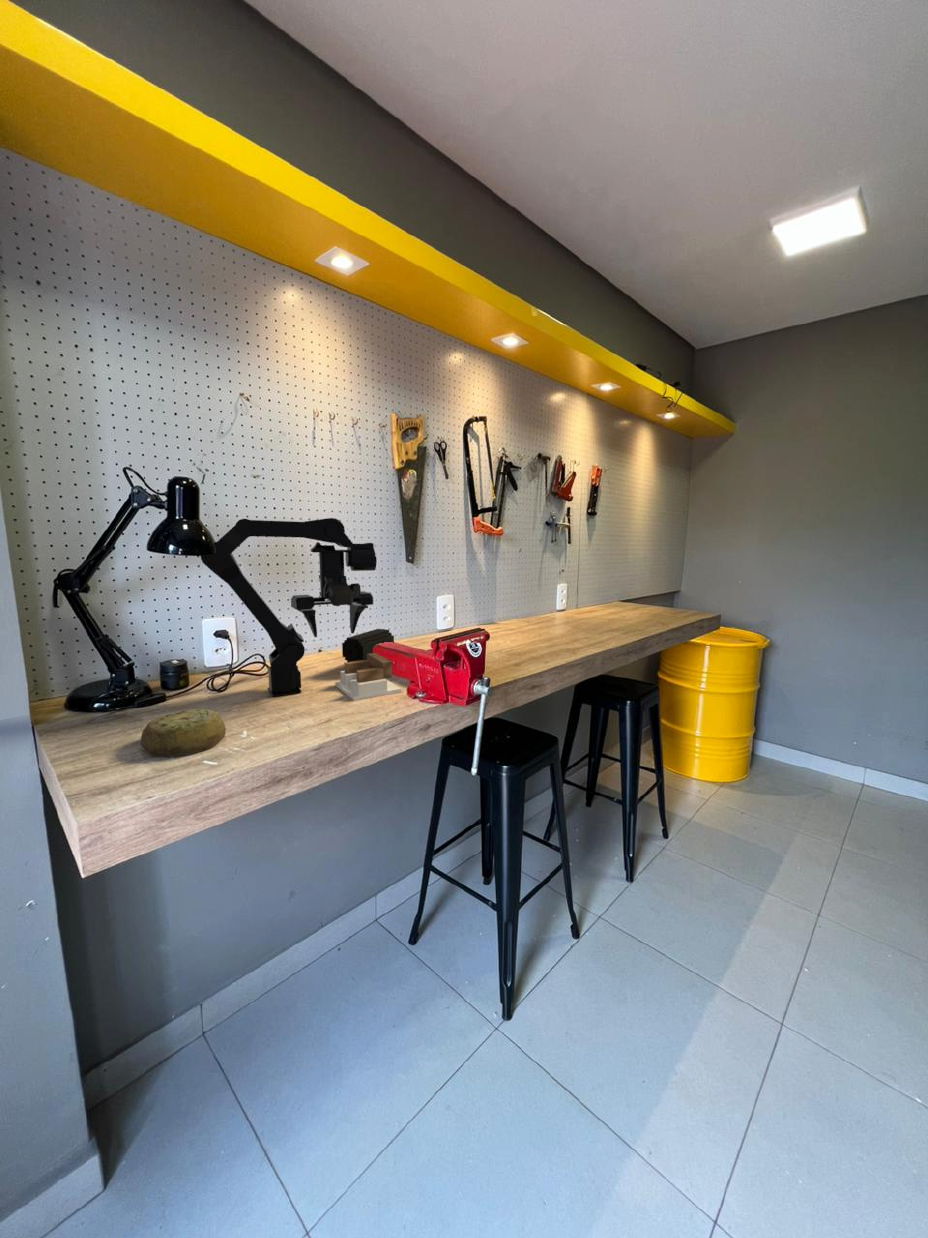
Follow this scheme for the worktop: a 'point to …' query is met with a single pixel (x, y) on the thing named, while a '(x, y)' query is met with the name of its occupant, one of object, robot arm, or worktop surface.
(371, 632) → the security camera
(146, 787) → the worktop surface
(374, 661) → the wooden c-shaped bracket
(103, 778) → the worktop surface
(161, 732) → the olive green pebble
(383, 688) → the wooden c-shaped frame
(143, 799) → the worktop surface
